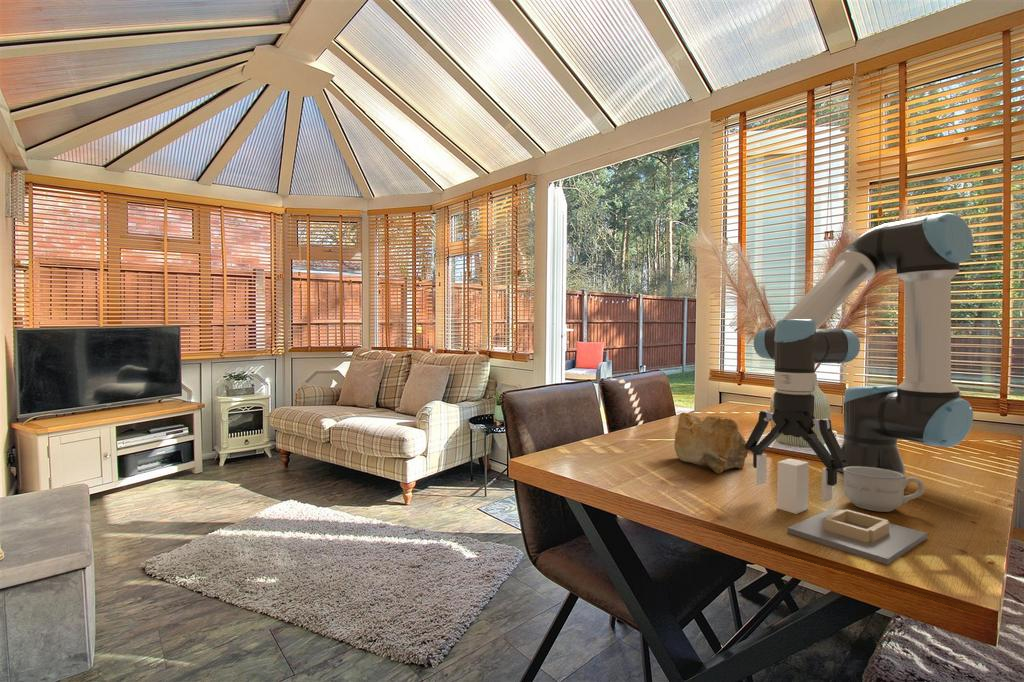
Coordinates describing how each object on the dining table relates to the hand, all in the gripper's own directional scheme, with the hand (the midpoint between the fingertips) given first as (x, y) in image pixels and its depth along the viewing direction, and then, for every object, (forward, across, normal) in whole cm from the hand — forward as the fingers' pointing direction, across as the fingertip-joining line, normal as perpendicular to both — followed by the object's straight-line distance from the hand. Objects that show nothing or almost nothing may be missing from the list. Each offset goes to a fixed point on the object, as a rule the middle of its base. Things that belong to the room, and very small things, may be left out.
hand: (792, 491), depth 109 cm
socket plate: (+4, +14, -5) cm, 15 cm away
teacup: (+4, +11, +15) cm, 19 cm away
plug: (+4, 0, 0) cm, 4 cm away
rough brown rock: (+4, -29, +17) cm, 34 cm away
